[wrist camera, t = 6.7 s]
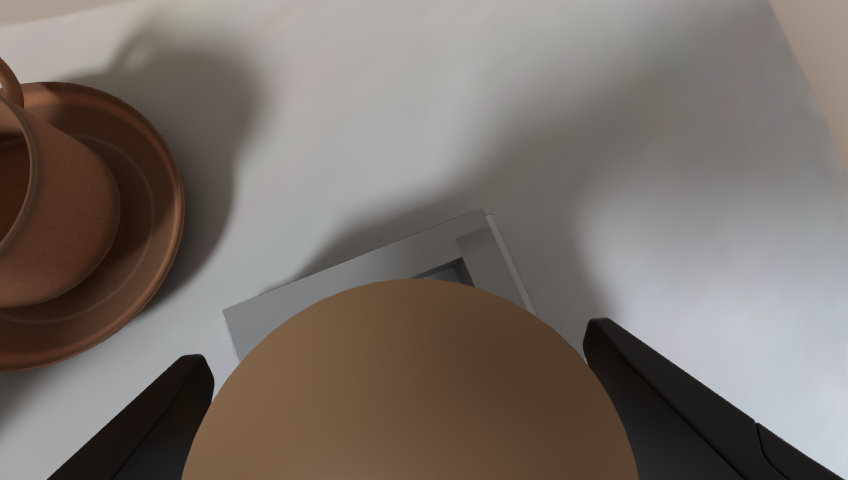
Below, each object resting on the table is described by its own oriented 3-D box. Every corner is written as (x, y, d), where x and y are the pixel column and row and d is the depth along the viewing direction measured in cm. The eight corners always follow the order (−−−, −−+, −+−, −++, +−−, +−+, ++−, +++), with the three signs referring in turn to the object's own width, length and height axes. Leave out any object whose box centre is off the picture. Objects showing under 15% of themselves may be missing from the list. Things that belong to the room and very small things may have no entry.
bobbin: (488, 377, 17) (736, 527, 4) (399, 463, 16) (389, 948, 4) (410, 288, 18) (434, 194, 5) (320, 367, 17) (74, 496, 4)
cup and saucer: (-116, 173, 19) (-359, 103, 13) (143, 65, 21) (35, -43, 14) (-29, 421, 17) (-263, 476, 11) (246, 282, 19) (172, 263, 13)
